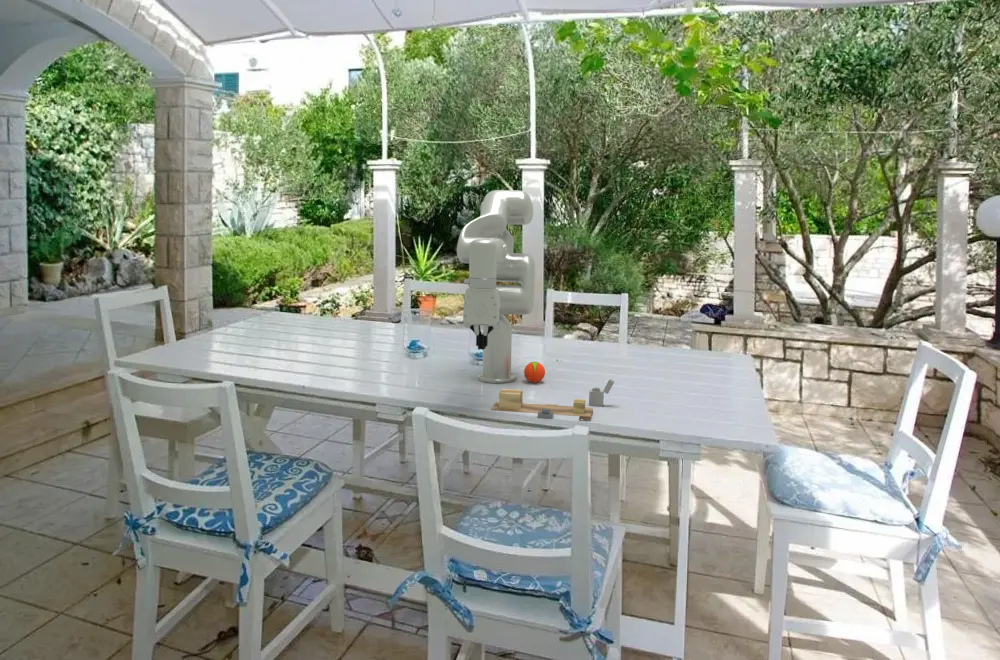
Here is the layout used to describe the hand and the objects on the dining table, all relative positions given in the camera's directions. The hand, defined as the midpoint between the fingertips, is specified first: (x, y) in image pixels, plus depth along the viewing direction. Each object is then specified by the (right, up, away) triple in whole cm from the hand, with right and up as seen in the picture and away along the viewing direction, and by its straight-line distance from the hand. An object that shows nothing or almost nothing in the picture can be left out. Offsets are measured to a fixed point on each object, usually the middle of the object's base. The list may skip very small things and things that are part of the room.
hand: (481, 348), depth 210 cm
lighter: (+35, -17, +9) cm, 40 cm away
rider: (+8, -17, +2) cm, 19 cm away
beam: (+17, -18, 0) cm, 25 cm away
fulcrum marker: (+18, -20, -7) cm, 27 cm away
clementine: (+16, -12, +35) cm, 40 cm away
